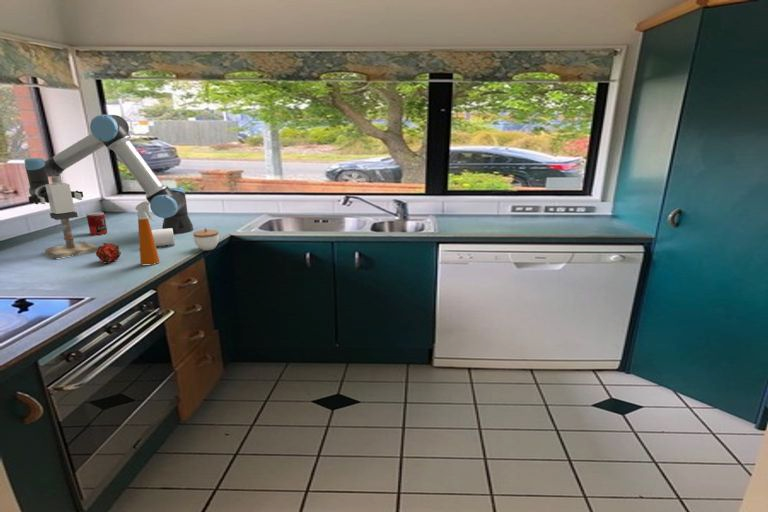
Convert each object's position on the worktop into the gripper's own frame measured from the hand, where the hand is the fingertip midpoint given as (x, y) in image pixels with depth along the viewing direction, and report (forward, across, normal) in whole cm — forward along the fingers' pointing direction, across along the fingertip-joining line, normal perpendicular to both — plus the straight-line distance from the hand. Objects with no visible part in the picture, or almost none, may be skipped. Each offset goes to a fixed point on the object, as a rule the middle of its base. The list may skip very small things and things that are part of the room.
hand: (62, 198), depth 193 cm
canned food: (-31, -21, -25) cm, 45 cm away
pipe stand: (-3, 0, -24) cm, 25 cm away
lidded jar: (+39, -42, -25) cm, 63 cm away
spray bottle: (+43, -15, -25) cm, 52 cm away
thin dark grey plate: (-3, 0, -8) cm, 9 cm away
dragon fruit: (+26, -5, -25) cm, 36 cm away
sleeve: (-3, 0, -6) cm, 7 cm away
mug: (+16, -32, -25) cm, 44 cm away
